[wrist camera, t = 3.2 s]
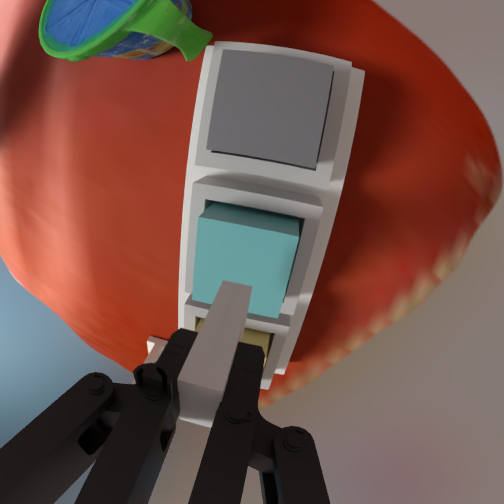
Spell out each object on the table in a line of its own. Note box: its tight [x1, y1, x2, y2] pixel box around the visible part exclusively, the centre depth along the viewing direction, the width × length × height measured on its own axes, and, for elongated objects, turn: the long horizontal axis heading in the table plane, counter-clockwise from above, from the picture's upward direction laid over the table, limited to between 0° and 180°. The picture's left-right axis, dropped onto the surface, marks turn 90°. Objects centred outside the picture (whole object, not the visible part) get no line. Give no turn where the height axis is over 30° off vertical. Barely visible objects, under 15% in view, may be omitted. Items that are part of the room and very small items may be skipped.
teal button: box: [192, 201, 299, 318], centre depth 19 cm, size 6×6×4 cm
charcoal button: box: [206, 49, 334, 169], centre depth 15 cm, size 6×6×4 cm
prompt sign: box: [132, 336, 168, 384], centre depth 28 cm, size 3×6×9 cm, turn 171°
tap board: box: [178, 41, 365, 390], centre depth 22 cm, size 12×30×5 cm, turn 171°
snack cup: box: [39, 0, 213, 62], centre depth 13 cm, size 16×10×10 cm
